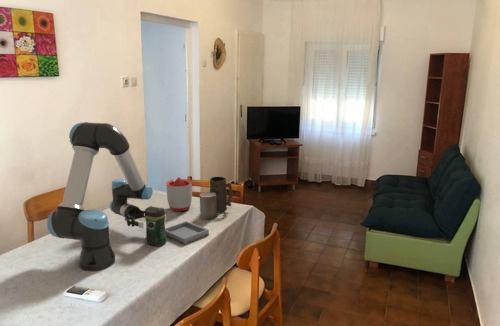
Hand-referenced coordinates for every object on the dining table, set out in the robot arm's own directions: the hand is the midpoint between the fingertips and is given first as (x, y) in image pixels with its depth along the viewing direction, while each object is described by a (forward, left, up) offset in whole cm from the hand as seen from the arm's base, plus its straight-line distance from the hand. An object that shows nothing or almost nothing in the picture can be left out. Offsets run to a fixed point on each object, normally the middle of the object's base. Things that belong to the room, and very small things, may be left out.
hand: (154, 221), depth 197 cm
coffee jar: (-1, -2, -11) cm, 11 cm away
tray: (+15, -5, -10) cm, 19 cm away
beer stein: (+55, +9, -11) cm, 57 cm away
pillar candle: (+41, +6, -11) cm, 43 cm away
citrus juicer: (+39, +30, -11) cm, 51 cm away
